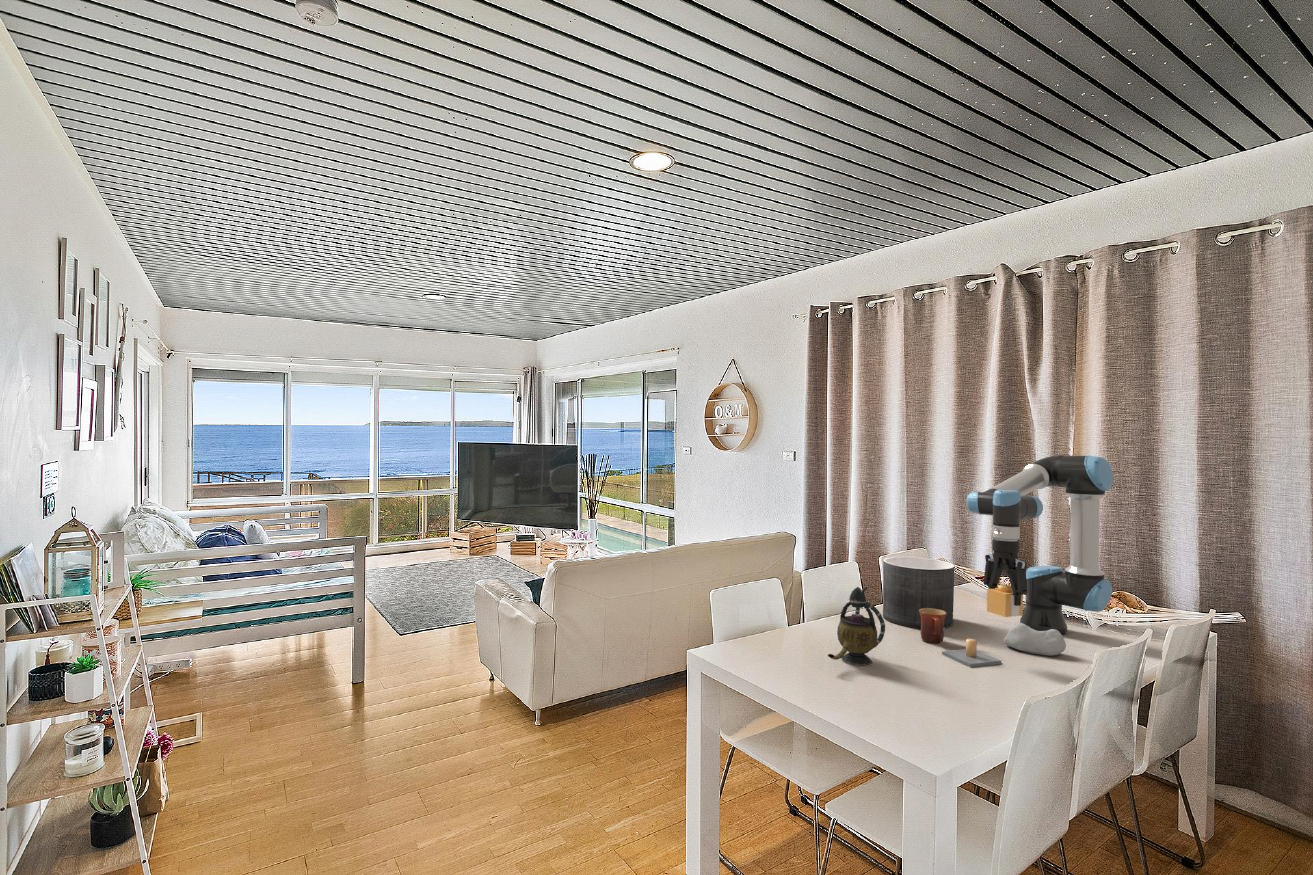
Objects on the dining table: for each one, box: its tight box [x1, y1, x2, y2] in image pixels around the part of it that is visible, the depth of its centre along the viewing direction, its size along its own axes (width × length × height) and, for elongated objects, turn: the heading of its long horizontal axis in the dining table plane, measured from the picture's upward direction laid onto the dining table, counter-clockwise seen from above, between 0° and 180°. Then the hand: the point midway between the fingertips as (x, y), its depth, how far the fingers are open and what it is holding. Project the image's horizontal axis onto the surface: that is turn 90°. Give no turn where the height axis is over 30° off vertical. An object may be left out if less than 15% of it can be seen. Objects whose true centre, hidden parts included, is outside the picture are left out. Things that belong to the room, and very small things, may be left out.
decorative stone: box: [1003, 622, 1067, 657], centre depth 214 cm, size 17×10×10 cm
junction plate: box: [941, 638, 1003, 668], centre depth 204 cm, size 12×12×6 cm
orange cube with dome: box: [986, 583, 1024, 618], centre depth 202 cm, size 7×7×9 cm
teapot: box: [827, 586, 886, 667], centre depth 198 cm, size 12×25×23 cm, turn 135°
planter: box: [882, 556, 955, 629], centre depth 249 cm, size 25×25×22 cm
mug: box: [919, 608, 946, 645], centre depth 221 cm, size 12×9×10 cm
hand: (1004, 612), depth 202 cm, fingers closed on orange cube with dome, 7 cm apart
